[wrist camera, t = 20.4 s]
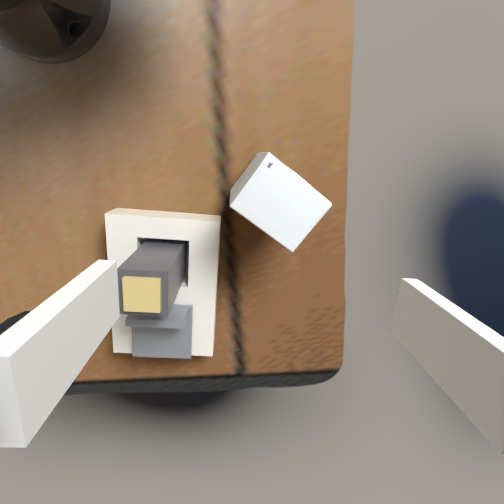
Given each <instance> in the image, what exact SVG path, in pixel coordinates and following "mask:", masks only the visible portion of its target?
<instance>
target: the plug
mask: <svg viewBox="0 0 504 504" xmlns="http://www.w3.org/2000/svg"><path fill="white" fill-rule="evenodd" d="M186 246H187V241H186V240H171V239H156V238H148V239H147V240H146V241H145V242H144V243H143V244H142V245H141V246H140V247H139V248H138V249H137V250H136V251H135V252H134V253H133V254H132V255H131V256H130V257H128V258H127V259H126V260H125V261H124V262H123V263H122V264H121V265H120V266H119V267H118V268H117V274H118V293H119V312H120V314H127V315H148V316H169V314H170V311H171V309H172V306H173V304H174V301H175V299H176V296H177V294H178V292H179V289H180V287H181V284H182V282H183V279H184V277H185V275H186Z"/></svg>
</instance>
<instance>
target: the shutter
mask: <svg viewBox="0 0 504 504" xmlns="http://www.w3.org/2000/svg"><path fill="white" fill-rule="evenodd" d="M192 322H193V305H179V304H173V306H172V309H171V311H170V314H169V316H148V315H128V316H127V317H126V319H125V325H126V326H129V327H131V329H132V354H133V357H157V358H185V359H191V355H192Z"/></svg>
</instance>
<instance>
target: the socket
mask: <svg viewBox="0 0 504 504" xmlns="http://www.w3.org/2000/svg"><path fill="white" fill-rule="evenodd" d="M105 226H106V242H107V257H108V260H114V261H117V268H118V267H119V266H120V265H121V264H122V263H123V262H124V261H125V260H126V259H127V258H128V257H130V256H131V255H132V254H133V253H134V252H135V251H136V250H137V249H138V248H139V247H140V246H141V245H142V244H143V243H144V242H145V241H146V240H147V239H148V238H156V239H171V240H186V241H187V246H186V275H185V277H184V279H183V282H182V284H181V287H180V289H179V292H178V294H177V296H176V299H175V301H174V304H179V305H193V322H192V356H213V348H214V337H215V319H216V301H217V283H218V264H219V246H220V228H221V216H220V215H206V214H192V213H179V212H165V211H151V210H138V209H124V208H116V209H113V210H111V211H109V212H107V213H105ZM127 316H128V315H127V314H120V316H119V318H118V319H117V321H116V322H115V323H114V325H113V326H112V337H113V352H114V353H132V329H131V327H129V326H126V325H125V319H126V317H127Z"/></svg>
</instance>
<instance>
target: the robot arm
mask: <svg viewBox="0 0 504 504" xmlns="http://www.w3.org/2000/svg"><path fill="white" fill-rule="evenodd" d="M109 10H110V0H0V44H2V45H3V46H5V47H7V48H9V49H11V50H13V51H15V52H17V53H19V54H21V55H23V56H25V57H28V58H30V59H33V60H37V61H41V62H48V63H59V62H65V61H69V60H72V59H75V58H77V57H79V56H81V55H83V54H84V53H86V52H87V51H88V50H89V49H90V48H92V46H93V45H94V44H95V43H96V42H97V40H98V39H99V37H100V36H101V34H102V32H103V30H104V28H105V26H106V23H107V19H108V15H109ZM119 316H120V312H119V293H118V274H117V261H114V260H98V261H96V262H95V263H94V264H92V265H91V266H90V267H88V268H87V269H86V270H85V271H83V272H82V273H81V274H79V275H78V276H77V277H75V278H74V279H73V280H71V281H70V282H69V283H68V284H66V285H65V286H64V287H62V288H61V289H60V290H58V291H57V292H56V293H55V294H53V295H52V296H51V297H49V298H48V299H47V300H45V301H44V302H43V303H42V304H40V305H39V306H38V307H36V308H35V309H34V310H32V311H25V312H22V313H20V314H18V315H15V316H13V317H11V318H9V319H7V320H5V321H4V322H3V323H1V324H0V447H20V448H21V447H22V448H26V447H27V445H28V444H29V442H30V441H31V440H32V438H33V437H34V435H35V434H36V432H37V431H38V430H39V428H40V427H41V426H42V424H43V423H44V421H45V420H46V419H47V417H48V416H49V414H50V413H51V412H52V410H53V409H54V407H55V406H56V405H57V403H58V402H59V400H60V399H61V398H62V396H63V395H64V393H65V392H66V391H67V389H68V388H69V386H70V385H71V384H72V382H73V381H74V379H75V378H76V377H77V375H78V374H79V372H80V371H81V370H82V368H83V367H84V365H85V364H86V363H87V361H88V360H89V358H90V357H91V356H92V354H93V353H94V351H95V350H96V349H97V347H98V346H99V344H100V343H101V342H102V340H103V339H104V337H105V336H106V335H107V333H108V332H109V330H110V329H111V328H112V326H113V325H114V323H115V322H116V321H117V319H118V318H119ZM389 329H390V330H391V332H392V333H393V334H394V335H395V336H396V337H397V338H398V340H400V342H401V343H402V344H403V345H404V346H405V347H406V348H407V350H408V351H409V352H410V353H411V354H412V355H413V356H414V358H415V359H416V360H417V361H418V362H419V363H420V364H421V365H422V366H423V368H424V369H425V370H426V371H427V372H428V373H429V374H430V375H431V377H433V379H434V380H435V381H436V382H437V383H438V384H439V386H440V387H441V388H442V389H443V390H444V391H445V392H446V393H447V395H448V396H449V397H450V398H451V399H452V400H453V401H454V402H455V403H456V405H457V406H458V407H459V408H460V409H461V410H462V411H463V413H464V414H465V415H466V416H467V417H468V418H469V419H470V420H471V421H472V423H473V424H474V425H475V426H476V427H477V428H478V429H479V430H480V432H481V433H482V434H483V435H484V436H485V437H486V438H487V439H488V441H489V442H490V443H491V444H492V445H493V446H494V447H495V448H496V449H497V450H498V452H499V453H500V454H504V337H502V336H501V335H499V334H498V333H496V332H495V331H493V330H492V329H490V328H489V327H488V326H486V325H484V324H483V323H482V322H480V321H479V320H477V319H476V318H474V317H473V316H471V315H470V314H468V313H467V312H465V311H464V310H462V309H461V308H459V307H458V306H456V305H455V304H454V303H452V302H451V301H449V300H448V299H446V298H445V297H443V296H442V295H440V294H439V293H437V292H436V291H434V290H432V289H431V288H430V287H428V286H427V285H425V284H424V283H422V282H421V281H419V280H418V279H407V278H402V280H401V284H400V288H399V292H398V296H397V299H396V303H395V307H394V311H393V315H392V319H391V323H390V327H389Z"/></svg>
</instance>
